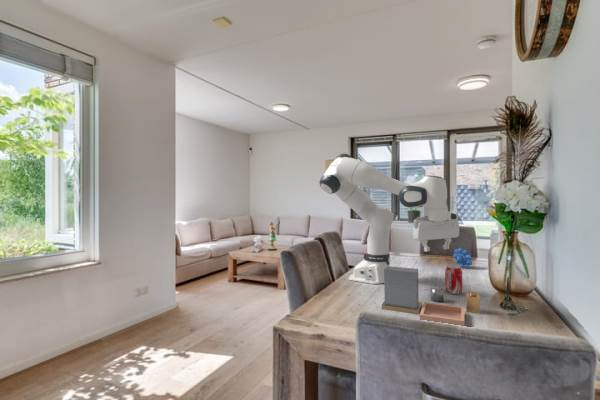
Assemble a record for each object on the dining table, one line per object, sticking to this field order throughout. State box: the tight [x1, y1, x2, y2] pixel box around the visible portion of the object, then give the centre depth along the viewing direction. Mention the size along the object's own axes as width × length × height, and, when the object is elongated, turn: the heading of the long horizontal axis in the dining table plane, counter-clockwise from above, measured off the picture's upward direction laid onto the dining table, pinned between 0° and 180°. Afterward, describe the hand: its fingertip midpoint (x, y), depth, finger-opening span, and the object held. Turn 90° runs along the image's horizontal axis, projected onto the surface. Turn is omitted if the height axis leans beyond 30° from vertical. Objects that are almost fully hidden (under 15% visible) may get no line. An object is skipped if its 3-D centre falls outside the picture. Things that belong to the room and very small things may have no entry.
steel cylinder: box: [430, 286, 445, 304], centre depth 131 cm, size 5×5×5 cm
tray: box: [419, 301, 466, 326], centre depth 113 cm, size 14×14×2 cm
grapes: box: [452, 247, 473, 269], centre depth 186 cm, size 12×7×12 cm, turn 29°
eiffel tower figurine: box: [498, 277, 530, 317], centre depth 121 cm, size 15×10×13 cm
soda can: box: [444, 264, 464, 295], centre depth 141 cm, size 7×7×12 cm
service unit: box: [381, 265, 423, 315], centre depth 124 cm, size 14×10×16 cm
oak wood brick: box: [465, 291, 481, 315], centre depth 119 cm, size 4×4×7 cm
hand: (436, 250), depth 125 cm, fingers open, 8 cm apart
